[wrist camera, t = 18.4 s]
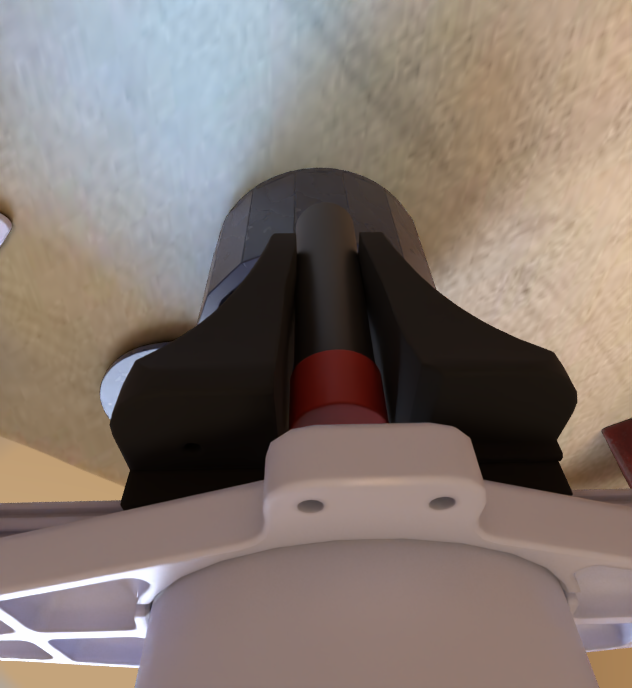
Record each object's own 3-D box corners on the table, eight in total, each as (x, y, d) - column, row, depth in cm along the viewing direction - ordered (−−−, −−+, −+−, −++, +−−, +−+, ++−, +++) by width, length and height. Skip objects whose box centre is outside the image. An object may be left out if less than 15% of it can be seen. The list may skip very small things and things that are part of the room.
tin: (176, 266, 25) (147, 351, 21) (319, 116, 20) (324, 183, 16) (317, 363, 31) (320, 447, 26) (458, 263, 26) (493, 346, 21)
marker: (280, 228, 15) (267, 436, 9) (325, 185, 14) (341, 387, 8) (324, 265, 16) (337, 473, 10) (369, 227, 15) (410, 433, 9)
